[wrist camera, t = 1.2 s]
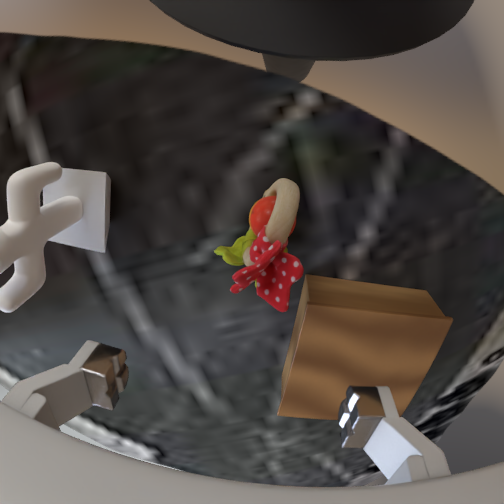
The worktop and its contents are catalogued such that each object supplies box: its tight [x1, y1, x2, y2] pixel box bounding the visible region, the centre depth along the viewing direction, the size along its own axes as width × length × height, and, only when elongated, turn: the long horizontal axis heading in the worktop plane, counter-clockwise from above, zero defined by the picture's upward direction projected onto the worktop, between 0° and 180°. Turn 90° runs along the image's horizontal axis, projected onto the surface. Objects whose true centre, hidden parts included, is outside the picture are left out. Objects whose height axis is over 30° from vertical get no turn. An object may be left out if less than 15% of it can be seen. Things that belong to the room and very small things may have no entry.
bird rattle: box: [214, 178, 303, 312], centre depth 24 cm, size 6×11×9 cm
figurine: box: [0, 162, 111, 312], centre depth 22 cm, size 7×9×15 cm
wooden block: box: [277, 274, 453, 420], centre depth 29 cm, size 14×14×6 cm
